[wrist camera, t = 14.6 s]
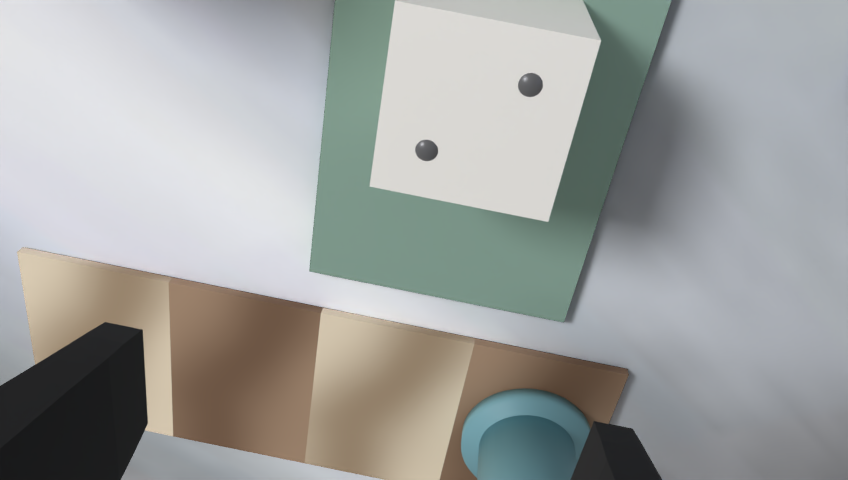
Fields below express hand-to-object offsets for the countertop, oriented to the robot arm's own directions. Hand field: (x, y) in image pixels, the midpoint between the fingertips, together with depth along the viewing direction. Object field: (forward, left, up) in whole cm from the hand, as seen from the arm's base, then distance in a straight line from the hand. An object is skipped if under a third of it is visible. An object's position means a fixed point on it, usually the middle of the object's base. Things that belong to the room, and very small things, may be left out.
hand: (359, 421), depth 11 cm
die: (-1, -3, -10) cm, 10 cm away
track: (+2, +9, -10) cm, 14 cm away
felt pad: (-1, -1, -10) cm, 10 cm away
